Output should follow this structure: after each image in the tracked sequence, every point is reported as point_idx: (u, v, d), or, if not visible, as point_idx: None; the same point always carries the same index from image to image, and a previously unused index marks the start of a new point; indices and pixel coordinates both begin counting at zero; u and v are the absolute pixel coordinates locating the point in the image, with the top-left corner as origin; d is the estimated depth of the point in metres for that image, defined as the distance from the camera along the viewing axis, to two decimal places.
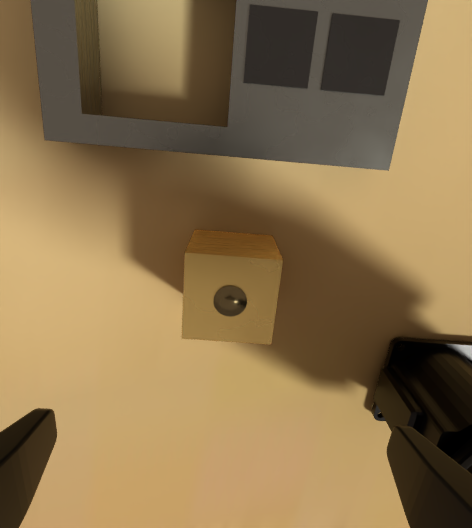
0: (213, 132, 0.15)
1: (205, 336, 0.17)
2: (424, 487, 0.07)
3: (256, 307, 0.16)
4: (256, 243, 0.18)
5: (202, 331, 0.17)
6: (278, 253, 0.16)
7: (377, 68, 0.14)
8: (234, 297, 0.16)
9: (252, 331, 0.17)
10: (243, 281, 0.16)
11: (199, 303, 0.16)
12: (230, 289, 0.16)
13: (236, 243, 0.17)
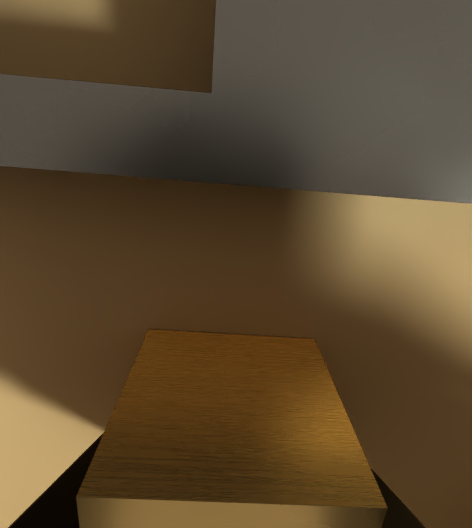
0: (168, 111, 0.05)
1: None
2: None
3: None
4: (289, 390, 0.07)
5: None
6: (357, 449, 0.06)
7: None
8: None
9: None
10: None
11: None
12: None
13: (240, 394, 0.07)
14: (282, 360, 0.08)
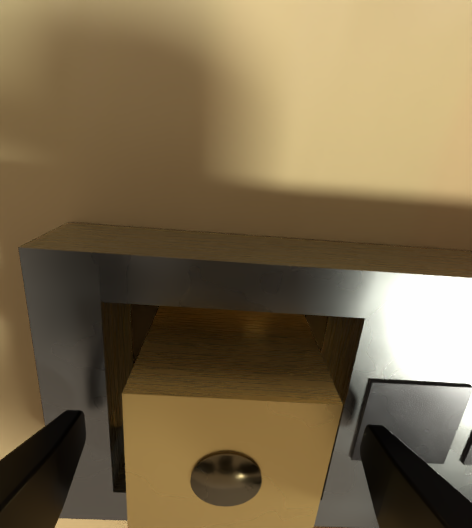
0: None
1: None
2: (391, 486, 0.07)
3: (280, 489, 0.08)
4: (276, 338, 0.09)
5: None
6: (325, 373, 0.08)
7: None
8: (234, 474, 0.07)
9: (271, 527, 0.08)
10: (254, 445, 0.07)
11: (160, 484, 0.08)
12: (227, 458, 0.07)
13: (239, 339, 0.09)
14: (272, 318, 0.10)
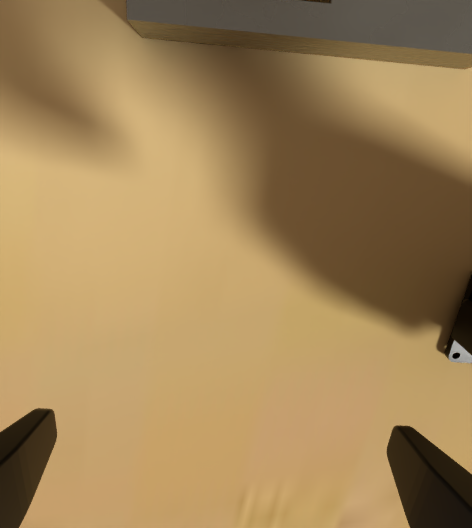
0: (315, 10, 0.14)
1: None
2: (424, 487, 0.07)
3: None
4: None
5: None
6: None
7: None
8: None
9: None
10: None
11: None
12: None
13: None
14: None
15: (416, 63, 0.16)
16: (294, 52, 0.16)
